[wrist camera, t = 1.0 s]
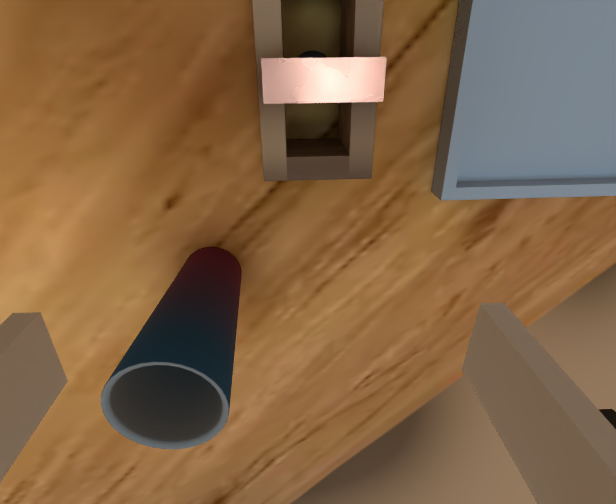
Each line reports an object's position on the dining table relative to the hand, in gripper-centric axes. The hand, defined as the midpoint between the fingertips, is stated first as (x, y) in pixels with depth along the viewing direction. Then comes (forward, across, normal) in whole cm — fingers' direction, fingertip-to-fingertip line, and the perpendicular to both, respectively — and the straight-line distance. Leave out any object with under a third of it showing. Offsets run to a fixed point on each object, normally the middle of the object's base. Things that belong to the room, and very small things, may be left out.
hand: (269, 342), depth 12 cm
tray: (+20, +22, +7) cm, 31 cm away
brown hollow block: (+21, +2, +7) cm, 22 cm away
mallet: (+21, +2, +7) cm, 22 cm away
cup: (+21, -6, -10) cm, 24 cm away
